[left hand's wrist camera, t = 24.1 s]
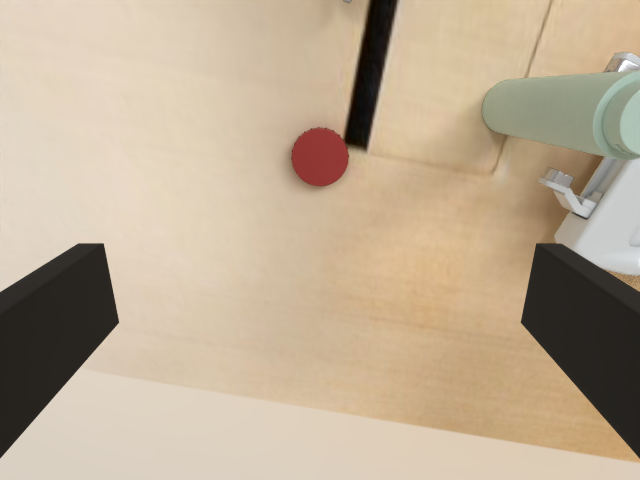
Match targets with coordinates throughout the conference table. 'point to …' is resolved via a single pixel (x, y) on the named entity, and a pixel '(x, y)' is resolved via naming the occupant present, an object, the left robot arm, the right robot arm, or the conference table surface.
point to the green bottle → (571, 112)
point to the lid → (320, 156)
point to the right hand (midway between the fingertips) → (578, 121)
